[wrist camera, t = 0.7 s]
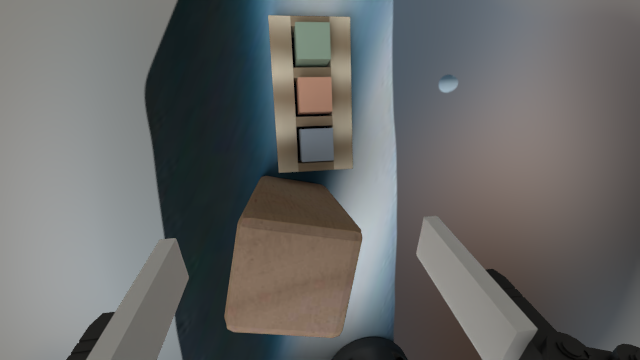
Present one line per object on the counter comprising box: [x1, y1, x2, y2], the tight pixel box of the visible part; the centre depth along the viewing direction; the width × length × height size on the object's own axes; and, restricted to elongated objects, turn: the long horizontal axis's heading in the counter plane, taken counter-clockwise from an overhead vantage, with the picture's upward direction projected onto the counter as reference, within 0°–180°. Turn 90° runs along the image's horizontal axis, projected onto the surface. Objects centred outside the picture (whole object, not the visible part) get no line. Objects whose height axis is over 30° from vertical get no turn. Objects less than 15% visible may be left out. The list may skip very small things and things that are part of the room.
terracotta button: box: [296, 77, 332, 115], centre depth 34 cm, size 4×4×4 cm
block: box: [224, 176, 362, 338], centre depth 30 cm, size 10×10×20 cm
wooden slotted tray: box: [268, 15, 353, 173], centre depth 36 cm, size 19×10×4 cm, turn 2°
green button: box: [294, 22, 331, 68], centre depth 33 cm, size 4×4×4 cm
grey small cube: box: [299, 128, 334, 162], centre depth 35 cm, size 4×4×4 cm
